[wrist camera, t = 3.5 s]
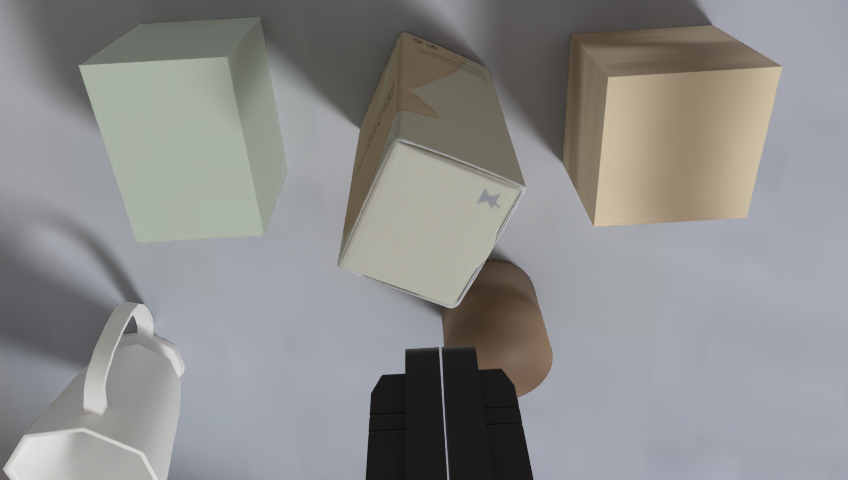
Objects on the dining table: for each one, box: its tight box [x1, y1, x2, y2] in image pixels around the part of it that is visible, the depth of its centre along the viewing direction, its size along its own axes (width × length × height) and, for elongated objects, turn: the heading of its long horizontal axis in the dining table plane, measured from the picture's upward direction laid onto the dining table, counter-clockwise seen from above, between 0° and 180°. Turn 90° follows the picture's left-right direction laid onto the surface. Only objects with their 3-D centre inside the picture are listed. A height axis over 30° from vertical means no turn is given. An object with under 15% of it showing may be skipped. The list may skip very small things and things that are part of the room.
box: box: [338, 32, 526, 308], centre depth 24 cm, size 5×4×11 cm
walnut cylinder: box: [441, 259, 553, 397], centre depth 33 cm, size 5×5×5 cm
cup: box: [3, 301, 185, 480], centre depth 32 cm, size 7×10×8 cm
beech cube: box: [563, 25, 782, 227], centre depth 27 cm, size 6×6×6 cm
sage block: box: [79, 17, 288, 243], centre depth 26 cm, size 5×7×6 cm
